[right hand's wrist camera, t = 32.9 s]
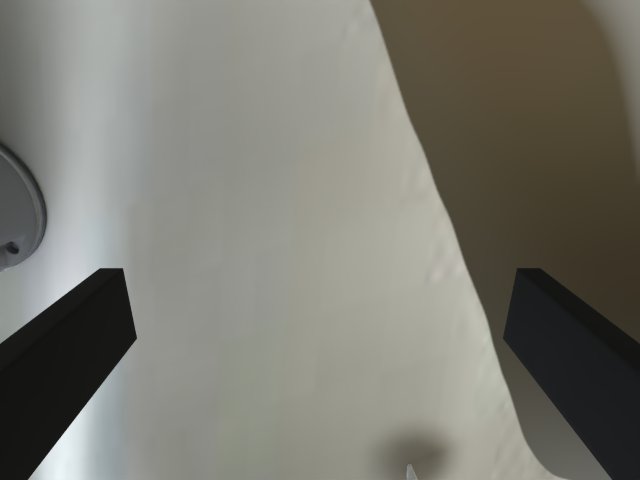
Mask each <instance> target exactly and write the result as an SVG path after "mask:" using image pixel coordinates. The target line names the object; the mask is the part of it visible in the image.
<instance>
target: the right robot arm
mask: <svg viewBox="0 0 640 480" xmlns="http://www.w3.org/2000/svg"><path fill="white" fill-rule="evenodd" d="M45 223H46V214H45V207H44V202H43V199H42V196H41V193H40V190H39V188H38V186H37V184H36V182H35V180H34V179H33V177H32V175H31V174H30V172H29V171H28V170H27V168H26V167H25V166H24V165H23V163H22V162H21V161H20V160H19V159H18V158H17V157H16V156H15V155H14V154H13V153H12V152H11V151H10V150H8V149H7V148H6V147H5V146H3V145H2V144H0V272H1V271H4V270H6V269H9V268H11V267H13V266H15V265H17V264H18V263H20V262H22V261H24V260H25V259H27V258H28V257H29V256H30V255H31V254H32V253H33V252H34V251H35V250H36V249H37V247H38V246H39V244H40V242H41V240H42V237H43V234H44V230H45ZM136 339H137V336H136V331H135V326H134V321H133V316H132V311H131V306H130V301H129V296H128V291H127V286H126V281H125V276H124V272H123V268H100V269H98V270H97V271H96V272H94V273H93V274H92V275H90V276H89V277H88V278H86V279H85V280H84V281H82V282H81V283H80V284H79V285H77V286H76V287H75V288H73V289H72V290H71V291H69V292H68V293H67V294H65V295H64V296H63V297H61V298H60V299H59V300H57V301H56V302H55V303H53V304H52V305H51V306H50V307H48V308H47V309H46V310H44V311H43V312H42V313H40V314H39V315H38V316H36V317H35V318H34V319H32V320H31V321H30V322H28V323H27V324H26V325H24V326H23V327H22V328H20V329H19V330H18V331H17V332H15V333H14V334H13V335H11V336H10V337H9V338H7V339H6V340H5V341H3V342H2V343H1V344H0V480H28V479H29V478H30V476H31V475H32V474H33V472H34V471H35V470H36V468H37V467H38V466H39V465H40V463H41V462H42V461H43V459H44V458H45V457H46V456H47V454H48V453H49V452H50V450H51V449H52V448H53V446H54V445H55V444H56V443H57V441H58V440H59V439H60V437H61V436H62V435H63V433H64V432H65V431H66V430H67V428H68V427H69V426H70V424H71V423H72V422H73V421H74V419H75V418H76V417H77V415H78V414H79V413H80V411H81V410H82V409H83V408H84V406H85V405H86V404H87V402H88V401H89V400H90V399H91V397H92V396H93V395H94V393H95V392H96V391H97V389H98V388H99V387H100V386H101V384H102V383H103V382H104V380H105V379H106V378H107V377H108V375H109V374H110V373H111V371H112V370H113V369H114V367H115V366H116V365H117V364H118V362H119V361H120V360H121V358H122V357H123V356H124V355H125V353H126V352H127V351H128V349H129V348H130V347H131V345H132V344H133V343H134V342H135V340H136ZM503 339H504V340H505V342H506V343H507V344H508V345H509V347H510V348H511V349H512V351H513V352H514V353H515V354H516V356H517V357H518V358H519V360H520V361H521V362H522V364H523V365H524V366H525V367H526V369H527V370H528V371H529V373H530V374H531V375H532V377H533V378H534V379H535V380H536V382H537V383H538V384H539V386H540V387H541V388H542V389H543V391H544V392H545V393H546V395H547V396H548V397H549V399H550V400H551V401H552V402H553V404H554V405H555V406H556V408H557V409H558V410H559V411H560V413H561V414H562V415H563V417H564V418H565V419H566V421H567V422H568V423H569V424H570V426H571V427H572V428H573V430H574V431H575V432H576V433H577V435H578V436H579V437H580V439H581V440H582V441H583V443H584V444H585V445H586V446H587V448H588V449H589V450H590V452H591V453H592V454H593V455H594V457H595V458H596V459H597V461H598V462H599V463H600V465H601V466H602V467H603V468H604V470H605V471H606V472H607V474H608V475H609V476H610V477H611V479H612V480H640V344H639V343H638V342H637V341H635V340H634V339H633V338H631V337H630V336H629V335H627V334H626V333H625V332H623V331H622V330H621V329H619V328H618V327H617V326H616V325H614V324H613V323H612V322H610V321H609V320H608V319H606V318H605V317H604V316H602V315H601V314H600V313H598V312H597V311H596V310H594V309H593V308H592V307H590V306H589V305H588V304H586V303H585V302H584V301H582V300H581V299H580V298H579V297H577V296H576V295H575V294H573V293H572V292H571V291H569V290H568V289H567V288H565V287H564V286H563V285H561V284H560V283H559V282H558V281H556V280H555V279H553V278H552V277H551V276H550V275H548V274H547V273H546V272H544V271H543V270H542V269H540V268H517V272H516V276H515V281H514V286H513V291H512V296H511V301H510V306H509V311H508V316H507V321H506V326H505V331H504V336H503Z"/></svg>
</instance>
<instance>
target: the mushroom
mask: <svg viewBox="0 0 640 480" xmlns="http://www.w3.org/2000/svg"><path fill="white" fill-rule="evenodd" d="M407 480H418V479H417V477H416V475H415V472H414V470H413V467H412V465H411V464H408V466H407Z"/></svg>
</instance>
